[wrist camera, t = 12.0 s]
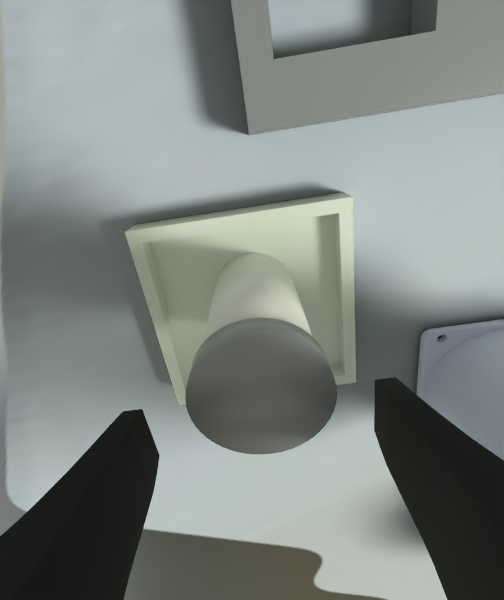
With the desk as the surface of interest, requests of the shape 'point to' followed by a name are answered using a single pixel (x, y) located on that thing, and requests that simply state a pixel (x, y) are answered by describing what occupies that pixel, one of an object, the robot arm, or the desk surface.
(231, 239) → the tray
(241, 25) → the housing
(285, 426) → the grey cylinder
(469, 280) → the desk surface
